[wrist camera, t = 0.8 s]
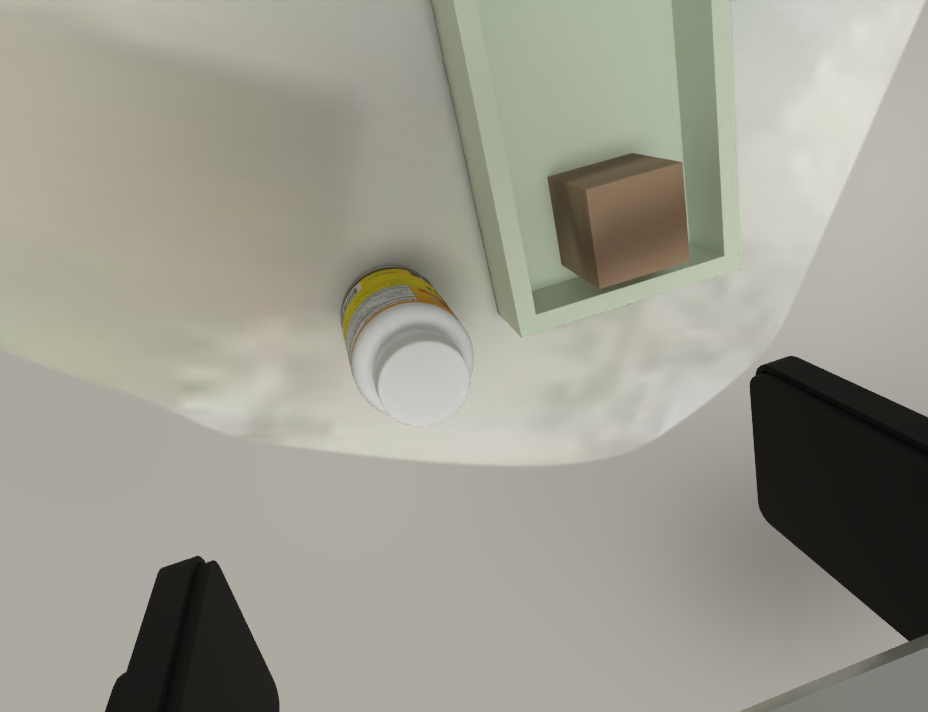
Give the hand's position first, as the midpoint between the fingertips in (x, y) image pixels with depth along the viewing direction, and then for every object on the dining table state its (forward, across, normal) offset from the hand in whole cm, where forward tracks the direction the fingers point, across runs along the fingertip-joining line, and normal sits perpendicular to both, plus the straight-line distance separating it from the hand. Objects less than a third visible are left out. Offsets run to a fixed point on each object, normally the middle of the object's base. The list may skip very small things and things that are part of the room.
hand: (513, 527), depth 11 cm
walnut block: (+25, -13, +1) cm, 28 cm away
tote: (+26, -13, -4) cm, 29 cm away
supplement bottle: (+26, 0, +4) cm, 27 cm away
